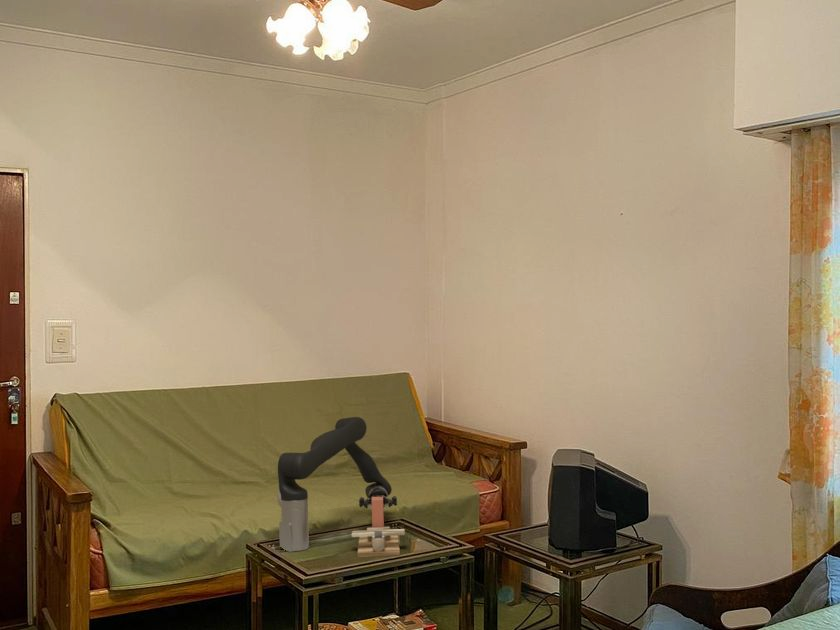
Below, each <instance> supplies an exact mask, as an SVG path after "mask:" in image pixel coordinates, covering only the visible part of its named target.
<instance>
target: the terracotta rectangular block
mask: <svg viewBox="0 0 840 630" xmlns="http://www.w3.org/2000/svg"><path fill="white" fill-rule="evenodd" d="M384 518H385V517H384V507H383V497H372V507H371V527H385V523H384Z"/></svg>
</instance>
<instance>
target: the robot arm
mask: <svg viewBox="0 0 840 630" xmlns="http://www.w3.org/2000/svg"><path fill="white" fill-rule="evenodd" d="M334 427H335V428H334V429H331V430H329V431H326V432H323V433H322V434H321V435H318V436H317V437H316V438H314V439H313V440H312V442H311V444H310V450H308V451H306V452H305V451H304V452H283V453H282V454H280V455H279V458H278V461H277V478H278V479H277V480H278V485H279V491H280V494H281V506H280V509H281V511H280V512H281V521H279V522H278V525H279V527H278V533H279V536H280V538H279V548H280V547H282V548H283V549H284V550H283V551H285V550H286V551H285V552H290V553H292V552H301V551H305V550H307V549H309V547H310V543H309V542H310V541H309V540H310V539H309V538H310V537H309V508H308V507H309V503H308V502H309V501H308V500H309V499H308V498H309V496H308V490H307V489H306V488H304V487H302V486H300V485H299V484H298V483H297V481H296V480H304V479H308V477H310V476H311V475H312V474H313V473H314V472H315V471H316V470H317V469H318V468H319V467H320V466H322V465H323V464H324V463H326V462H327V461H329V460H330V459H332V458H334V457H335V456H336V455H337V454H339V453H340V452H341V451H343V450H344V449H345V451H346V452H347V454H348V455H349V456H350V457H351V459H352V460H353V461H354V463H355V465H356V467H357V468H358V471H359V473H360V475H361V477H362V479H363V481H364V482H365V483H366V484H369V485H367V486H366V488H365V495H366V499H365V497H362V496H361V497H360V498H359V499H358V505H359V507H360V508H362V507H363V508H365V509H368V508H372V497H383V508H385V507H388V508H391V507H393V506H398V499H397V496H396V495H395V496H391V498H390V497H389V496H390V495H391V493H392V486H391V484H390V483H389V481H388V480H387V479H386V478H385V477H384V476H383V475H382V474H381V472H380V470H379V468H378V466H377V464H376V462H375V460H374V458H373V457H372V456H371V455H370V454H369V453H368V452H366V450H364V449H363V448H361V447H360V446H359V445H358V444H357V443H356V442H358V441H360V440H362V439H363V438H364V437H365V435H366V433H367V424H366V421H365V420H364V419H363V418H362V417H359V416H352V417H345V418H344V417H343V418H340V419H338V420H336V423H335V426H334Z"/></svg>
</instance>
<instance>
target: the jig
mask: <svg viewBox="0 0 840 630" xmlns="http://www.w3.org/2000/svg"><path fill="white" fill-rule="evenodd" d="M405 533H406V531H405V529H404V528H400V529H399V528H395V529H394V528H393V529H391V527H390V526H384V527H372V526H371V527H366V530H353V531H351V538H358V545H357V558H365V557H367V558H368V557H391V556H395V557H396V556H401V555H400V554H401V550H400V539H399V536H405V535H406V534H405Z"/></svg>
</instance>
